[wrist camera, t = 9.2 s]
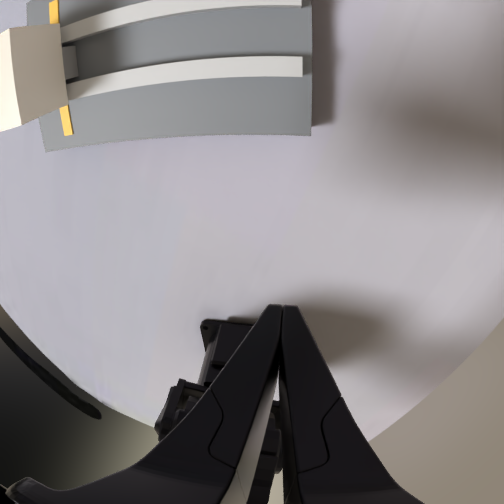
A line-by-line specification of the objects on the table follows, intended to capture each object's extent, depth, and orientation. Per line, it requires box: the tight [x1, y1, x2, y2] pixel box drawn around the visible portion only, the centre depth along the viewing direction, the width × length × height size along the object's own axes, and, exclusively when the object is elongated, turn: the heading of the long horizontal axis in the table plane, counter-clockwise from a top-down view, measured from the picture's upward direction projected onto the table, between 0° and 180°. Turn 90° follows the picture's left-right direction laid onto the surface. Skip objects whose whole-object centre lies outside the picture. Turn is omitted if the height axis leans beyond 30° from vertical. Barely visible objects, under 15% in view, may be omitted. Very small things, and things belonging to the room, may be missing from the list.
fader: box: [0, 24, 79, 132], centre depth 12 cm, size 5×3×5 cm, turn 2°
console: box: [27, 0, 312, 152], centre depth 14 cm, size 11×17×3 cm, turn 92°
